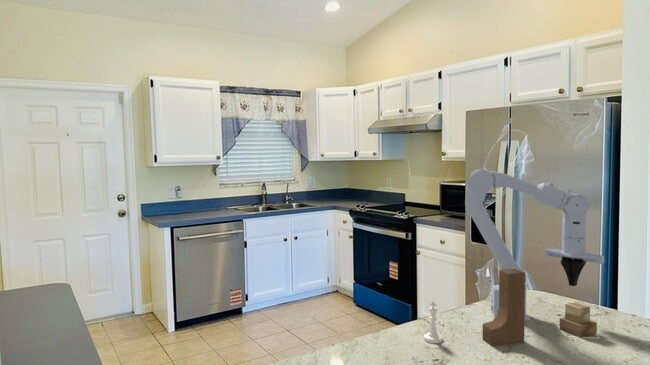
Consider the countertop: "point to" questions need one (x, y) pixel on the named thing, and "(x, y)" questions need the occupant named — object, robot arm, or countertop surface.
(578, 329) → the walnut slab
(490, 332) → the wooden block
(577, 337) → the slate mat
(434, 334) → the chess piece
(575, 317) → the maple cube
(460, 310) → the countertop surface
